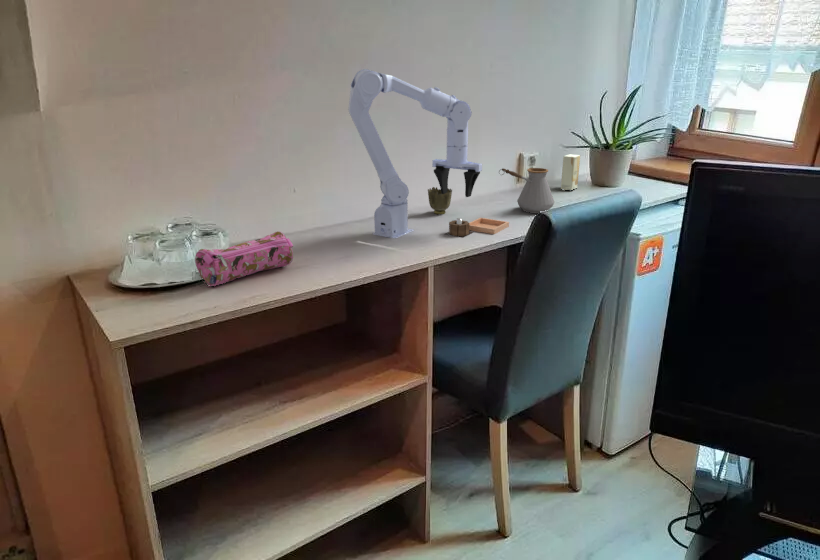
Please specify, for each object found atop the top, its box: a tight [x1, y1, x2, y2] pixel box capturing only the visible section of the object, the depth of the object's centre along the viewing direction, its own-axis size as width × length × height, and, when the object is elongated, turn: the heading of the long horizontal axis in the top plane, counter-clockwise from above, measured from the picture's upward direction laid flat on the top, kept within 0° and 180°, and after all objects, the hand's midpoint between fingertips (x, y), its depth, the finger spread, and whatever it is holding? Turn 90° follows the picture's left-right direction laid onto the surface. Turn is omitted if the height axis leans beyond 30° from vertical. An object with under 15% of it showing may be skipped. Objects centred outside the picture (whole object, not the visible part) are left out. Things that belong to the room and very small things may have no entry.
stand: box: [444, 217, 475, 238], centre depth 171 cm, size 6×6×5 cm
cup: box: [427, 186, 453, 216], centre depth 191 cm, size 8×7×8 cm
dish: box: [469, 217, 510, 235], centre depth 176 cm, size 9×9×2 cm
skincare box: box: [560, 153, 581, 191], centre depth 221 cm, size 6×4×12 cm
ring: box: [448, 219, 470, 237], centre depth 171 cm, size 5×5×3 cm
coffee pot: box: [498, 167, 555, 214], centre depth 191 cm, size 21×12×15 cm, turn 125°
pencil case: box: [194, 231, 294, 287], centre depth 141 cm, size 21×9×9 cm, turn 133°
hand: (456, 194), depth 173 cm, fingers open, 7 cm apart
